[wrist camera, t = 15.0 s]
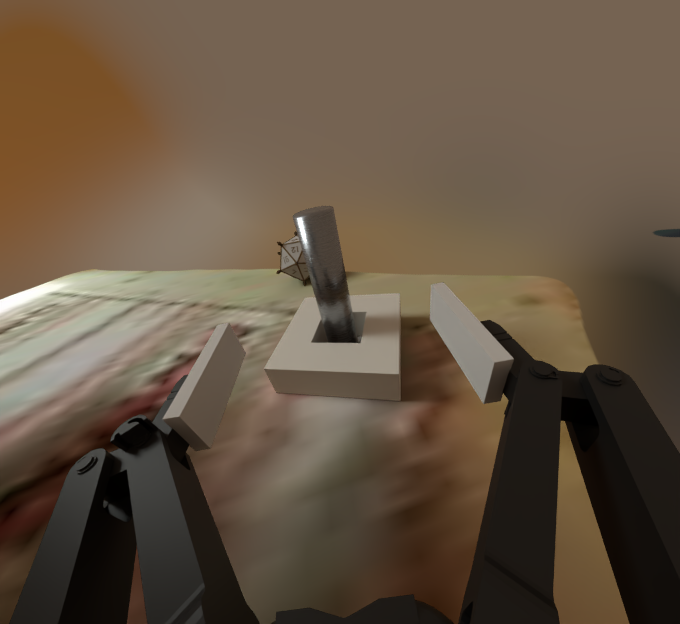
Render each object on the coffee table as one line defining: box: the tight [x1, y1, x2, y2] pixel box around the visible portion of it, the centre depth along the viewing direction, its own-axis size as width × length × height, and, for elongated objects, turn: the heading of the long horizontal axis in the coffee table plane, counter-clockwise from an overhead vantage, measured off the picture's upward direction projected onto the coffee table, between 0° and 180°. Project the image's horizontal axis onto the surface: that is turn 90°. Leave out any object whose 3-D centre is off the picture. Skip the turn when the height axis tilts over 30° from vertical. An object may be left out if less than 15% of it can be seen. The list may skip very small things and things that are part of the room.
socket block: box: [264, 293, 401, 401], centre depth 26 cm, size 12×12×4 cm
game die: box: [276, 232, 310, 286], centre depth 42 cm, size 9×8×10 cm
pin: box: [293, 206, 358, 343], centre depth 23 cm, size 3×3×15 cm
